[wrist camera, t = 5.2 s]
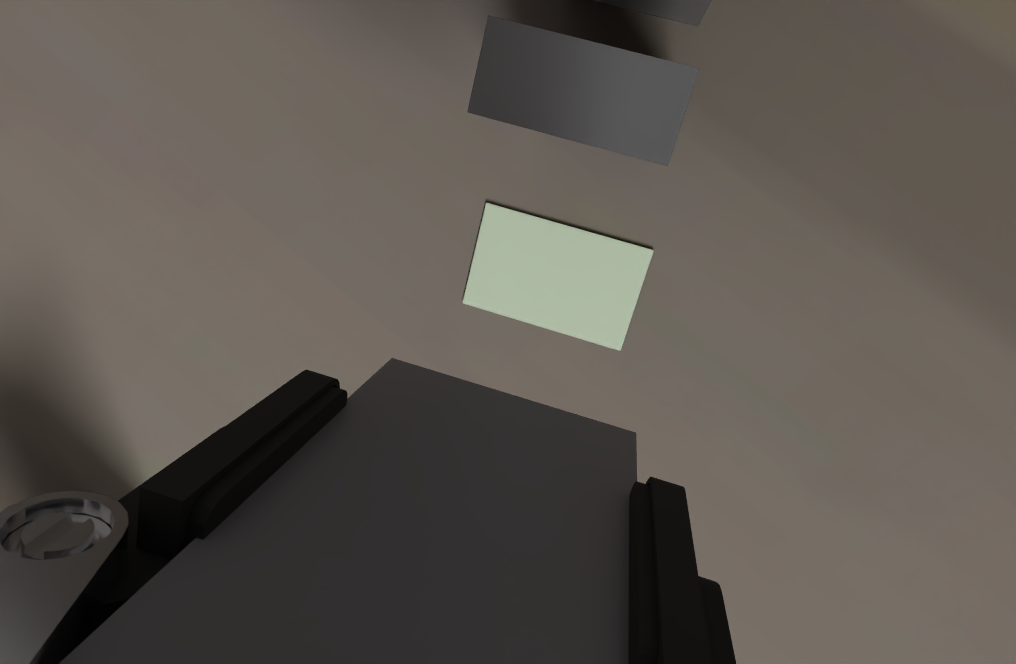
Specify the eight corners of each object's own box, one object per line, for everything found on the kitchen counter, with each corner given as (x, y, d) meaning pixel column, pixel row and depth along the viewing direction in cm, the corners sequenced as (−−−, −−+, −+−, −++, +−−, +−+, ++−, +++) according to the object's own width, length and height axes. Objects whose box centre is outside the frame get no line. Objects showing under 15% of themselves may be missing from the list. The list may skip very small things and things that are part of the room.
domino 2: (675, 95, 24) (699, 68, 14) (657, 154, 25) (667, 166, 15) (547, 62, 24) (488, 15, 15) (532, 121, 25) (467, 112, 16)
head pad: (653, 250, 26) (653, 250, 25) (620, 350, 27) (620, 350, 27) (486, 202, 26) (486, 202, 26) (463, 302, 28) (462, 302, 28)
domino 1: (636, 433, 12) (653, 1383, 3) (603, 526, 13) (531, 1537, 4) (391, 358, 13) (-270, 965, 3) (373, 452, 14) (-220, 1172, 4)
